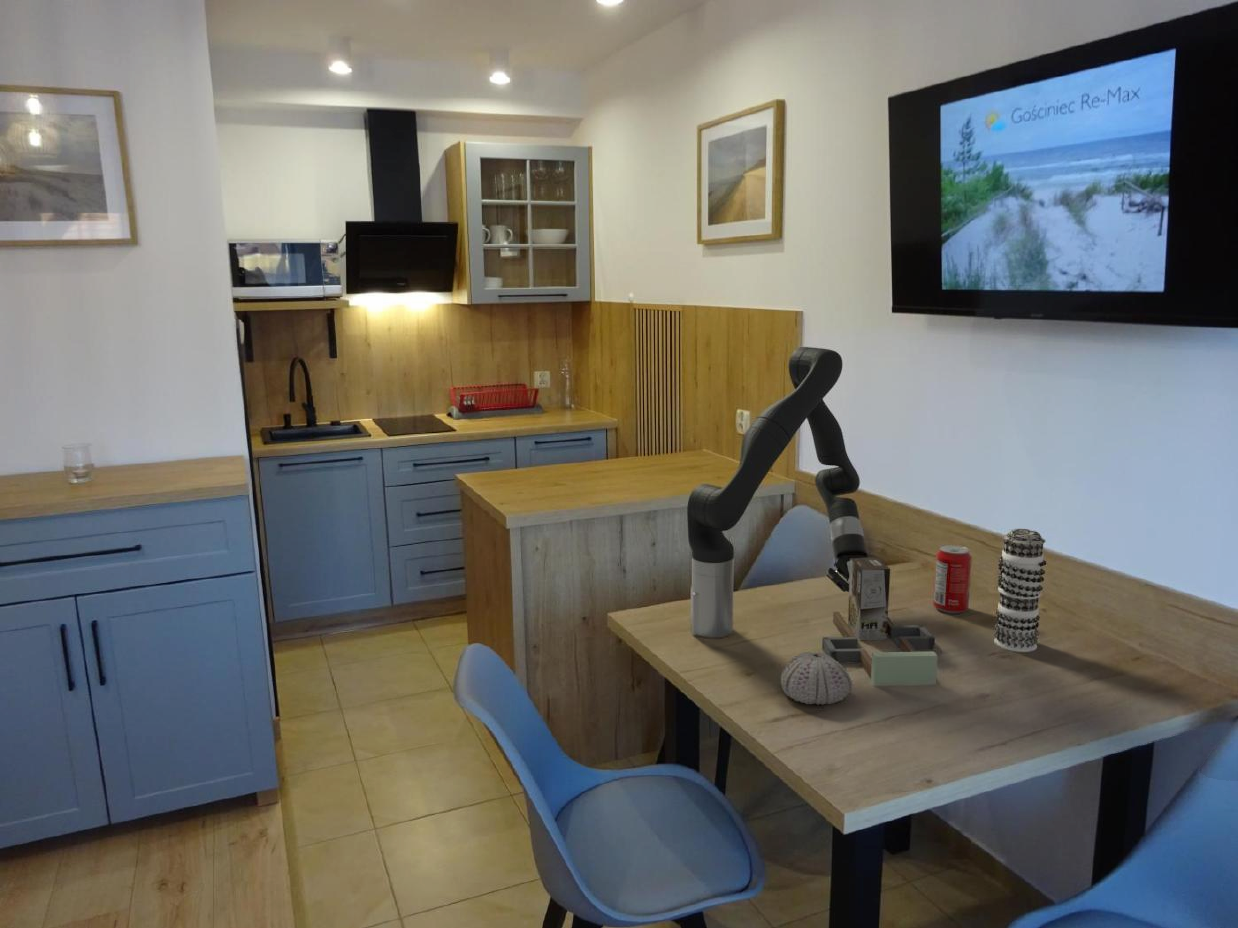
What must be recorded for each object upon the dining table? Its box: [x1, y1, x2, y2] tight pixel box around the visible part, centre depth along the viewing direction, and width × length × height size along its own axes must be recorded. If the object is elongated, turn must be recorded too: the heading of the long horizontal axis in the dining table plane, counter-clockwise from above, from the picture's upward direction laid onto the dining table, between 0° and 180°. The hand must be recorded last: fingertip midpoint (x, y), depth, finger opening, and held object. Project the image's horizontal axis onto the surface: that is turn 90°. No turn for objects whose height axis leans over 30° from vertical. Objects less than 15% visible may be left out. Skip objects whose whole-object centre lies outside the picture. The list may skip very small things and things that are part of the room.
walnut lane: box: [832, 611, 918, 679], centre depth 187 cm, size 11×32×2 cm, turn 1°
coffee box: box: [847, 556, 891, 641], centre depth 195 cm, size 9×6×16 cm
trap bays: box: [821, 624, 935, 664], centre depth 187 cm, size 23×13×2 cm, turn 90°
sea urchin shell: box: [780, 651, 854, 706], centre depth 167 cm, size 13×14×8 cm
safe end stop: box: [870, 651, 938, 687], centre depth 171 cm, size 12×2×6 cm, turn 90°
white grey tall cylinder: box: [993, 528, 1047, 653], centre depth 187 cm, size 9×9×25 cm
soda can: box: [932, 544, 973, 615], centre depth 208 cm, size 8×8×15 cm
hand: (860, 606), depth 201 cm, fingers closed
